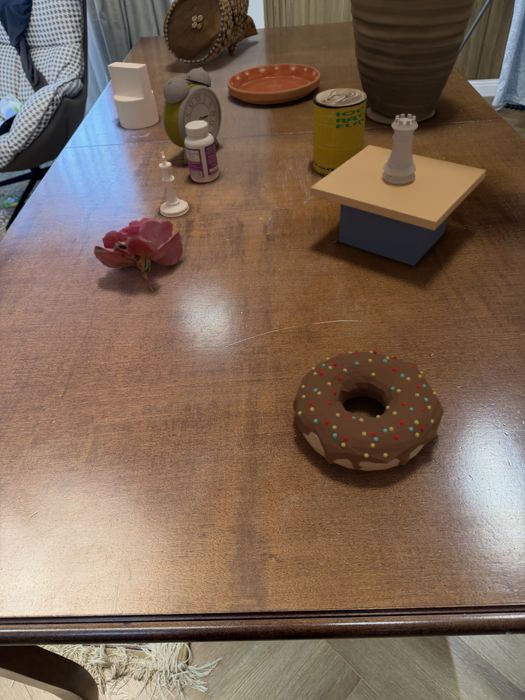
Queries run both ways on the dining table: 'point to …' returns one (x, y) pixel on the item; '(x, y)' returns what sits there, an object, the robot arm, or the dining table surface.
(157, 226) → the flower
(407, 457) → the donut
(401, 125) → the rook chess piece
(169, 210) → the chess piece
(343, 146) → the beverage can
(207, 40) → the basket
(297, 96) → the saucer
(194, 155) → the pill bottle
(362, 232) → the board box
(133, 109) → the cylinder with rectangular tab
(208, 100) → the alarm clock
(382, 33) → the vase
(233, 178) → the dining table surface
